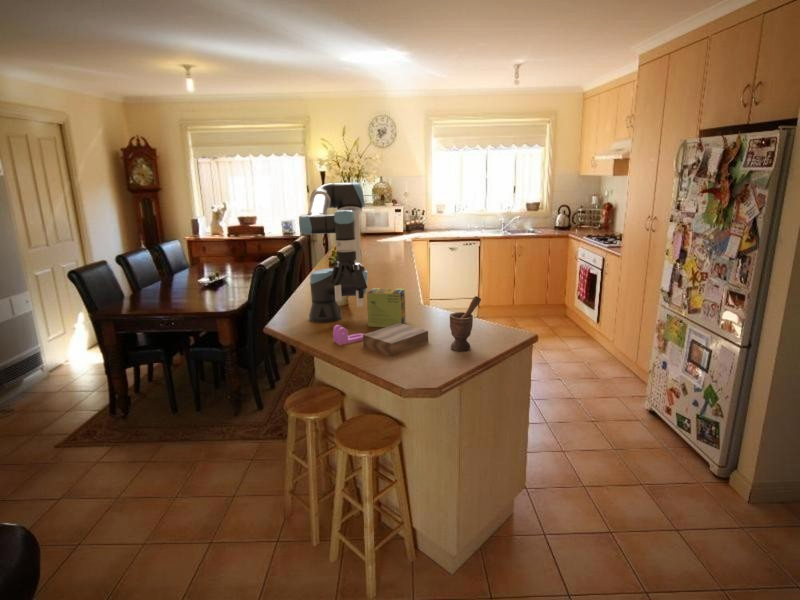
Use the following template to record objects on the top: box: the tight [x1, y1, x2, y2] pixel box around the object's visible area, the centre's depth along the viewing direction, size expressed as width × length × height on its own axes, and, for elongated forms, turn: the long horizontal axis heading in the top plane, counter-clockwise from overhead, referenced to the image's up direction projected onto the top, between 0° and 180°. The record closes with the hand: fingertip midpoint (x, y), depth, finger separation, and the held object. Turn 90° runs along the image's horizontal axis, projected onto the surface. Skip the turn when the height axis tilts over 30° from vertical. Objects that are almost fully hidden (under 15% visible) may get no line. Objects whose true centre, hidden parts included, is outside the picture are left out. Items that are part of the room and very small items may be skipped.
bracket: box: [332, 324, 365, 346], centre depth 193 cm, size 13×6×7 cm, turn 123°
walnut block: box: [362, 323, 429, 357], centre depth 186 cm, size 16×20×5 cm
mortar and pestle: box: [449, 295, 482, 352], centre depth 179 cm, size 12×9×20 cm
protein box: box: [366, 287, 407, 328], centre depth 212 cm, size 10×15×16 cm
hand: (349, 303), depth 189 cm, fingers open, 13 cm apart
